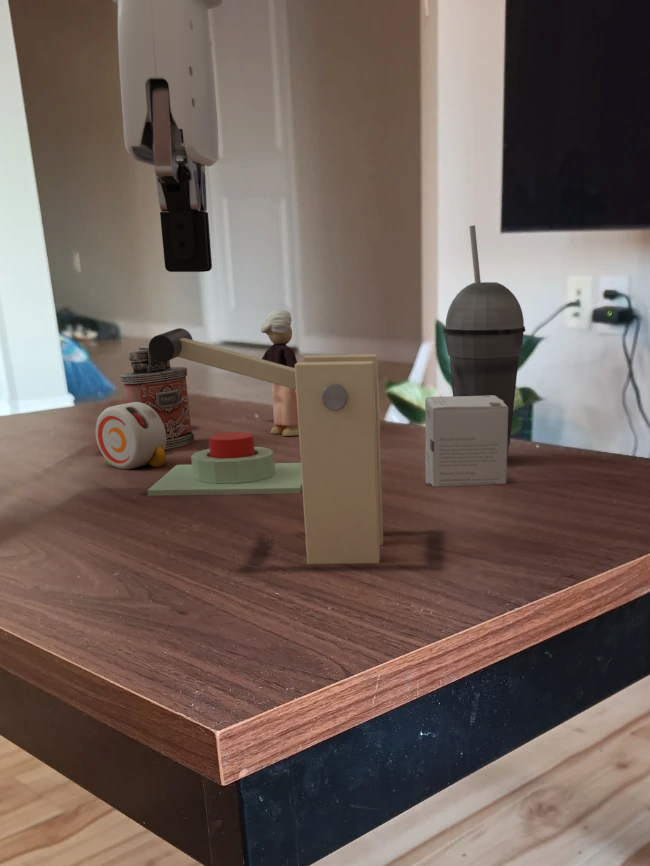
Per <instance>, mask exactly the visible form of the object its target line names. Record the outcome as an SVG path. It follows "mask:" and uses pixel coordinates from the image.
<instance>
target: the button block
mask: <svg viewBox="0 0 650 866" xmlns="http://www.w3.org/2000/svg"><path fill="white" fill-rule="evenodd" d="M254 450H255V455H253V456H249V457H241V458H213V457H210V448H207V449H203V450H198V451H195V452H194V453H193V454H192V455H191V456H190V460H191V464H176V465H174V467H172V468H171V469H170V470H168V471H167V473H165V474H164V475H163V476H162V477H161V478H160V479H158V480H157V481H156V482H155V483H154V484H153V485H151V486H150V487H149V488H148V489H147V491H146V492H147V496H148V497H153V496H154V497H159V496H161V497H162V496H164V497H165V496H167V497H169V496H215V495H216V496H227V495H228V496H229V495H231V496H232V495H233V496H234V495H290V494H292V495H294V494H296V495H297V494H301V492H303V489H302V473H301V462H275V453H274V452H275V451H274V450H272V449H270V448H267V447H263V446H254Z"/></svg>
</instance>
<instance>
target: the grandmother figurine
mask: <svg viewBox="0 0 650 866" xmlns="http://www.w3.org/2000/svg"><path fill="white" fill-rule="evenodd" d="M292 321H293V319H292V315H291V313H290V312H289V311H288V310H284V309H279V308H278V309H274V310H272V311H270V313H268V315H266V317H265V319H264V321H263V323H262V324H261V327H260V332H261V333H262V334H266V335H267V337H268V339H269V340H270V342H271V343H272V345H271V346H269V347H268V349H266V351H265V352H264V354H263V356H262V357H261V359H263V360H266V361H270V362H274V363H277V364H281V365H284V366H288V367H292V368H295V364H296V363H298V360H297V356H296V352H295V351H294V349H292V348H290V347H289V346H288V344H289V343H290V341H292V338H293V329H292V326H291V325H292ZM271 395H272V411H273V413H272V414H273V425H274V426H273V427H272V428H271V430H270V434H272V435H273V434H274V435H280V434H281V436H282V437H294V436H295V437H296V436H298V437H299V426H298V410H297V395H296V389H292V388H289V387H285V386H281V385H278V384H274V383H272V391H271Z"/></svg>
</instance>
